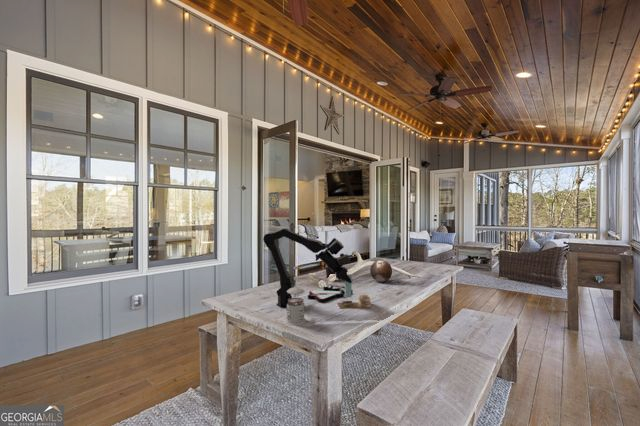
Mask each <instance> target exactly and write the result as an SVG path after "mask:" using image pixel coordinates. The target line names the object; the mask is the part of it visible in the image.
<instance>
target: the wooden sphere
mask: <svg viewBox="0 0 640 426" xmlns="http://www.w3.org/2000/svg"><path fill="white" fill-rule="evenodd" d="M369 270H370V271H369V273H370V276H371V277H372V279H373V280H374V281H376V282H379V283H385V282H387V281H388V280H390V279H391V276H393V275H392V274H393V268H392V266H391V264H390V263H389V262H388V261H386V260H383V259H379V260H378V259H377V260H376V261H374V262H372V264H371V265H370V268H369Z"/></svg>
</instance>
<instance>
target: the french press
mask: <svg viewBox="0 0 640 426" xmlns="http://www.w3.org/2000/svg"><path fill="white" fill-rule="evenodd" d="M298 269H299V268H298V266H293V270H295V271H294V273H295V276H294V277H295V278H294V280H295V287H294V288H290V289H289V290H287V293H289V294H291V295H293V297H292V298H290V299H288V303H287V307H286V319H285V320H284V324H286V325H289V326H301V325H304V324H306V323H307V319H306V318H305V302H304V299H303V298H301V297H297V296H299V295H301V294H305V292H306V291H305V290H304V289H303V288H301V287H297V276H296V275H297V270H298Z"/></svg>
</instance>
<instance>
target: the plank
mask: <svg viewBox="0 0 640 426" xmlns="http://www.w3.org/2000/svg"><path fill="white" fill-rule="evenodd" d="M347 275H348V276H349V278H350V279H351V281H352V275H351V274H347ZM344 286H345V295H344V298H352V294H351V290H352V282H351V283H349V282H346V281H344Z"/></svg>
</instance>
